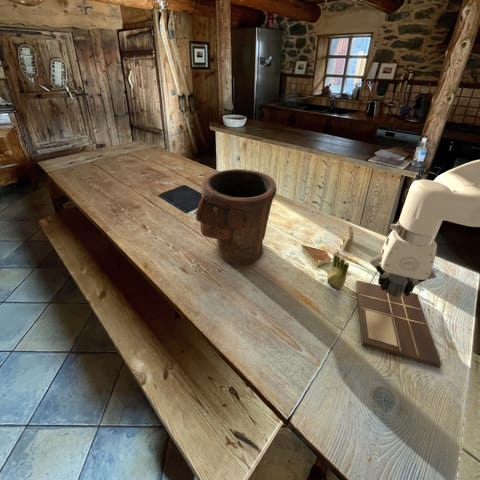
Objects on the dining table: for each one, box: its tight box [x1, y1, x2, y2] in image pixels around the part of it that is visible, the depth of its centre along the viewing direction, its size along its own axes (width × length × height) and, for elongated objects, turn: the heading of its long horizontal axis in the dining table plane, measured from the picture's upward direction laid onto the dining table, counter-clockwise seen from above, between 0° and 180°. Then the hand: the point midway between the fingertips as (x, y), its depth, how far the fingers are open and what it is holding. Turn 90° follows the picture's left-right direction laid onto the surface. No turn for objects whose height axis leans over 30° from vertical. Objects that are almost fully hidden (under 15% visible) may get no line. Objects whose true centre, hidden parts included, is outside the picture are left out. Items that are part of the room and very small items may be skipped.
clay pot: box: [195, 168, 278, 266], centre depth 97 cm, size 25×29×30 cm
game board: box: [355, 280, 442, 369], centre depth 78 cm, size 18×22×2 cm
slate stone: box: [385, 273, 408, 297], centre depth 68 cm, size 5×5×4 cm
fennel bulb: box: [326, 252, 350, 290], centre depth 87 cm, size 6×5×12 cm
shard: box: [300, 244, 333, 267], centre depth 102 cm, size 11×8×2 cm
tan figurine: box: [336, 225, 354, 255], centre depth 106 cm, size 7×4×12 cm
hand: (393, 288), depth 69 cm, fingers closed on slate stone, 4 cm apart
